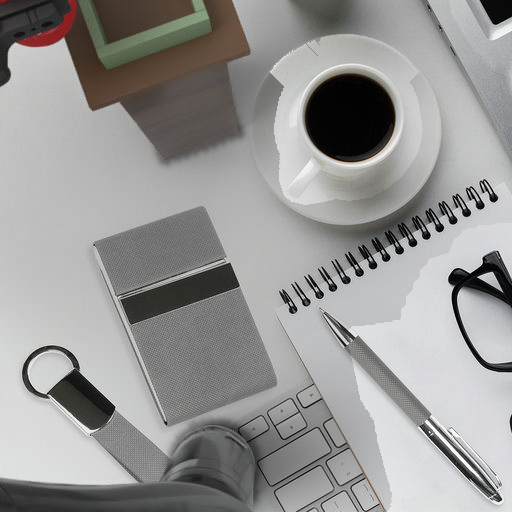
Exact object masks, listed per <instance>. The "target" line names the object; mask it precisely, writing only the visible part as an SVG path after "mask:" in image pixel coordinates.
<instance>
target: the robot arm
mask: <svg viewBox="0 0 512 512" xmlns="http://www.w3.org/2000/svg"><path fill="white" fill-rule="evenodd" d="M71 10H72V9H71V6H70V3H69V0H10V1H7V2H3V3H1V4H0V88H2V87H3V86H4V85H6V84H7V83H9V82H10V81H11V77H12V71H11V69H10V67H9V51H10V49H11V47H13V45H14V44H17V43H16V42H18V41H21V40H24V39H26V38H29V37H32V36H34V35H37V34H39V33H43V32H45V31H47V30H51V29H54V28H56V27H58V26H59V25H60V24H61V23H63V22H64V18H63V15H66V14H68V13H69V12H70V11H71ZM255 477H256V460H255V455H254V452H253V450H252V448H251V446H250V444H249V443H248V441H247V440H246V439H245V438H244V436H242V435H241V434H240V433H238V432H237V431H236V430H235V429H232V428H230V427H227V426H224V425H220V424H219V425H218V424H208V425H203V426H200V427H197V428H195V429H192V430H191V431H190V432H188V433H187V434H185V436H183V437H182V438H181V439H180V441H179V442H178V444H177V445H176V446H175V448H174V451H173V453H172V456H171V458H170V461H169V462H168V464H167V465H166V468H165V469H164V472H163V474H162V475H161V477H160V479H159V481H150V482H133V483H132V482H131V483H117V484H116V483H114V484H113V483H112V484H83V483H82V484H81V483H79V484H77V483H63V482H62V483H61V482H48V481H35V480H25V479H16V478H7V477H1V476H0V512H254V511H253V507H254V484H255Z"/></svg>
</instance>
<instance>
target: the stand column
mask: <svg viewBox="0 0 512 512" xmlns="http://www.w3.org/2000/svg"><path fill="white" fill-rule="evenodd" d="M229 72H230V71H229V66H228V63H226V64H223V65H220V66H217V67H215V68H212V69H209V70H206V71H204V72H201V73H198V74H195V75H192V76H190V77H187V78H184V79H181V80H179V81H176V82H173V83H170V84H168V85H165V86H162V87H159V88H157V89H154V90H151V91H148V92H146V93H143V94H140V95H137V96H135V97H132V98H129V99H126V100H124V101H121V102H118V103H119V104H120V105H121V106H122V108H123V109H124V111H126V113H127V114H128V116H130V118H131V120H133V122H134V123H135V124H136V125H137V127H138V128H139V129H140V130H141V132H142V133H143V134H144V136H145V137H146V139H148V140H149V142H150V143H151V144H152V146H153V147H154V149H156V151H157V153H159V155H160V156H161V157H162V158H163V160H168V159H170V158H173V157H176V156H178V155H182V154H184V153H187V152H190V151H192V150H195V149H198V148H201V147H203V146H206V145H208V144H212V143H215V142H217V141H220V140H223V139H225V138H228V137H231V136H233V135H236V134H239V128H238V124H237V123H238V122H237V117H236V110H235V109H236V108H235V105H234V98H233V92H232V84H231V79H230V73H229Z"/></svg>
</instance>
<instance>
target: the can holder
mask: <svg viewBox="0 0 512 512" xmlns="http://www.w3.org/2000/svg"><path fill="white" fill-rule="evenodd" d="M63 39H64V41H65V44H66V47H67V50H68V54H69V56H70V58H71V61H72V64H73V66H74V70H75V72H76V75H77V78H78V82H79V84H80V86H81V89H82V93H83V95H84V98H85V100H86V103H87V107H88V108H89V109H90V111H92V112H96V111H98V110H99V111H100V110H102V109H104V108H107V107H110V106H112V105H115V104H118V103H119V102H121V101H124V100H126V99H129V98H132V97H135V96H137V95H140V94H143V93H146V92H148V91H151V90H154V89H157V88H159V87H162V86H165V85H168V84H170V83H173V82H176V81H179V80H181V79H184V78H187V77H190V76H192V75H195V74H198V73H201V72H204V71H206V70H209V69H212V68H215V67H217V66H220V65H223V64H226V63H227V64H228V63H230V62H231V63H232V62H234V61H237V60H239V59H242V58H245V57H248V56H250V55H251V48H250V47H251V46H250V43H249V42H248V39H247V36H246V33H245V31H244V28H243V26H242V23H241V20H240V18H239V14H238V13H237V9H236V7H235V4H234V2H233V0H76V15H75V19H74V21H73V24H72V27H71V29H70V30H69V32H68V33H67V35H66V36H65V37H64V38H63Z"/></svg>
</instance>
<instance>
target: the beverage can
mask: <svg viewBox="0 0 512 512" xmlns="http://www.w3.org/2000/svg"><path fill="white" fill-rule="evenodd" d="M7 1H10V0H0V4H1V3H3V2H7ZM69 3H70V6H71V9H72V10H71V11H70V12H69V13H68V14H66V15H63V18H64V22H63V23H61V24H60V25H59V26H58V27H56V28H54V29H51V30H47V31H45V32H43V33H39V34H37V35H34V36H32V37H29V38H26V39H24V40H21V41H18V42H16V43H15V44H18V45H20V46H24V47H26V48H27V47H28V48H43V47H44V48H46V47H50V46H52V45H55V44H58V43H59V42H60V41H62V40H63V39H64V37H65V36H66V35H67V33H68V32H69V30H70V29H71V27H72V24H73V21H74V19H75V15H76V0H69Z"/></svg>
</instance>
